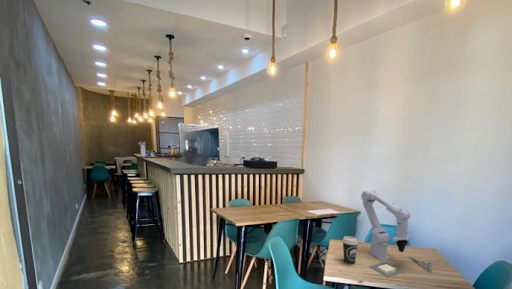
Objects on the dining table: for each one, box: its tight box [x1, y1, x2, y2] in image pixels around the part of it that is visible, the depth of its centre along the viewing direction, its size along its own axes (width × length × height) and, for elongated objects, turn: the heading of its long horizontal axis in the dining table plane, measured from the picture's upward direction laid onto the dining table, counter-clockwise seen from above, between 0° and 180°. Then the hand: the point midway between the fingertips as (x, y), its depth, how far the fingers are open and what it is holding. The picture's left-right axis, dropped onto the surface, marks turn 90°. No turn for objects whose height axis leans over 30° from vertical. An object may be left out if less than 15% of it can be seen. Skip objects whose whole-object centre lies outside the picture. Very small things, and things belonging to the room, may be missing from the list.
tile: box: [377, 264, 396, 275], centre depth 143 cm, size 6×2×8 cm
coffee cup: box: [341, 235, 359, 265], centre depth 153 cm, size 10×10×15 cm
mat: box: [367, 261, 406, 279], centre depth 145 cm, size 13×16×1 cm
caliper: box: [408, 255, 433, 274], centre depth 153 cm, size 20×1×6 cm, turn 0°
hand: (401, 251), depth 149 cm, fingers closed
